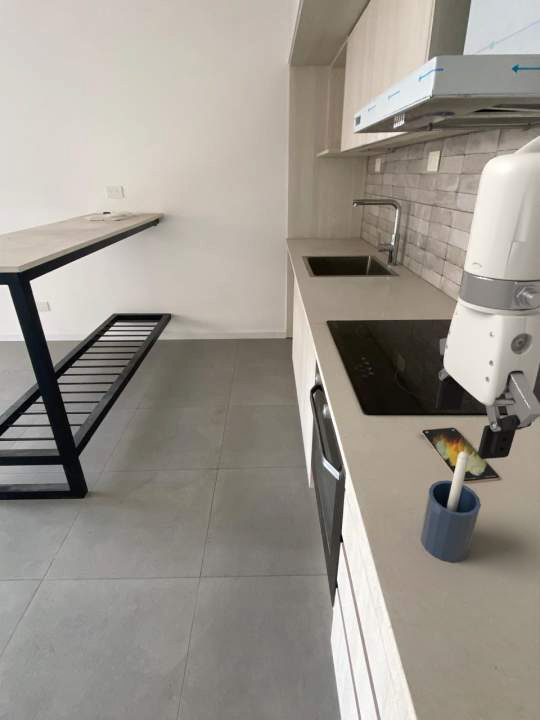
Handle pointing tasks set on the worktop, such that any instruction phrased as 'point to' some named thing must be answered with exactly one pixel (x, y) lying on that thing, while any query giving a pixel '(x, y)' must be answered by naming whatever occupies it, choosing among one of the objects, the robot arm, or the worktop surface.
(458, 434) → the smartphone
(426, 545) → the pen pot
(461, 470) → the stylus
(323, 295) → the worktop surface
